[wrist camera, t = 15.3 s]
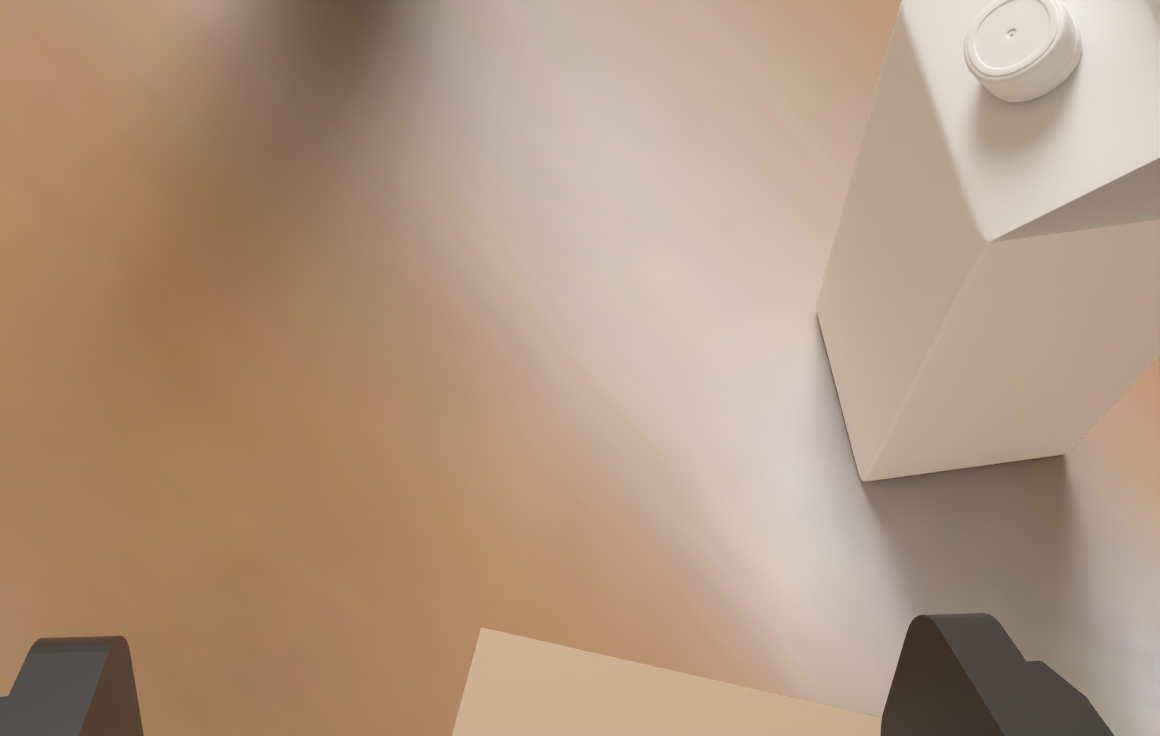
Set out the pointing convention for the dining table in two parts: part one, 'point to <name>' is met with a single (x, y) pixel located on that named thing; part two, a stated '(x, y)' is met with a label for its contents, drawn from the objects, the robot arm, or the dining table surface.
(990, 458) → the milk carton
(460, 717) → the white feeder tower
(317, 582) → the dining table surface
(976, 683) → the robot arm
